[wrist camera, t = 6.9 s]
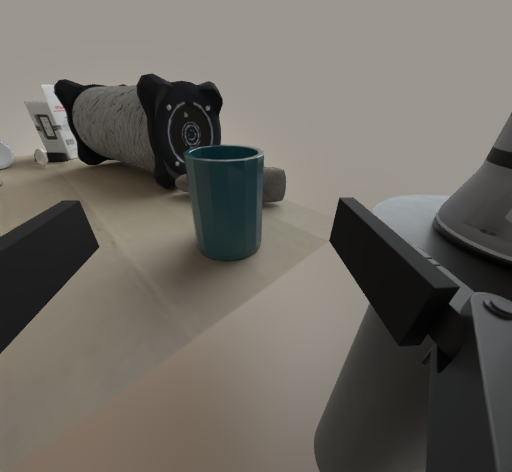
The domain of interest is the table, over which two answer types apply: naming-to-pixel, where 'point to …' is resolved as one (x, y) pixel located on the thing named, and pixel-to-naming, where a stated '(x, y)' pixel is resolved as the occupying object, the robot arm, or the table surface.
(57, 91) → the speaker
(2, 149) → the pill bottle
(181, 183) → the stone tool
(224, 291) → the table surface
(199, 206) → the drinking cup
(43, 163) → the watch
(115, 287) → the table surface
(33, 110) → the ink box
